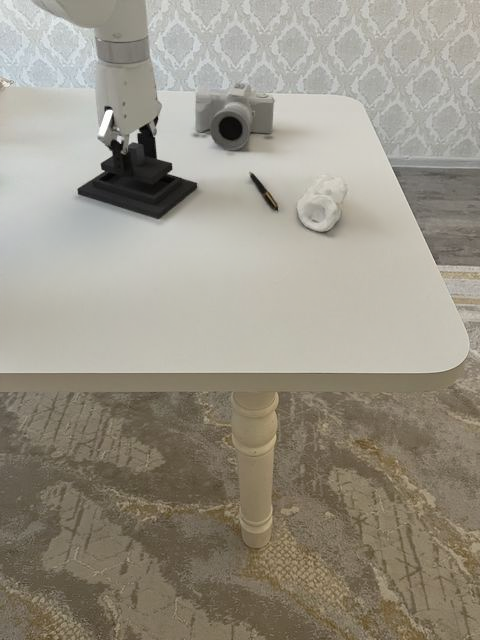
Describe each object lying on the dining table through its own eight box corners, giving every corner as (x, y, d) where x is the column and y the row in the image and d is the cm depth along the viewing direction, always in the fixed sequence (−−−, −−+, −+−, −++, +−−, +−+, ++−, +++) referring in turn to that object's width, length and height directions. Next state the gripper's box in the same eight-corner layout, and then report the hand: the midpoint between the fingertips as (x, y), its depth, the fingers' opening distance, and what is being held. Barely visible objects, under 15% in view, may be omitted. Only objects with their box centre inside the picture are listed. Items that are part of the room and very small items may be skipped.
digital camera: (183, 160, 118) (168, 110, 111) (209, 131, 127) (197, 83, 121) (260, 157, 112) (250, 104, 105) (282, 126, 121) (274, 76, 115)
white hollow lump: (318, 194, 103) (351, 161, 97) (336, 251, 98) (373, 220, 92) (280, 181, 97) (313, 146, 92) (298, 240, 93) (334, 208, 87)
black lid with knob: (101, 170, 97) (97, 145, 95) (123, 156, 101) (120, 132, 99) (152, 184, 94) (150, 159, 92) (172, 169, 98) (171, 145, 96)
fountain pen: (245, 174, 107) (246, 167, 106) (252, 174, 107) (252, 166, 106) (274, 214, 97) (274, 205, 96) (281, 213, 97) (281, 204, 96)
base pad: (78, 194, 99) (75, 181, 97) (121, 166, 107) (119, 154, 105) (158, 219, 94) (157, 206, 93) (197, 188, 102) (197, 176, 101)
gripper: (136, 30, 92) (147, 142, 104) (62, 60, 81) (84, 182, 93) (177, 38, 90) (183, 151, 102) (107, 70, 78) (124, 194, 91)
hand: (136, 165), depth 97 cm, fingers closed on black lid with knob, 6 cm apart
